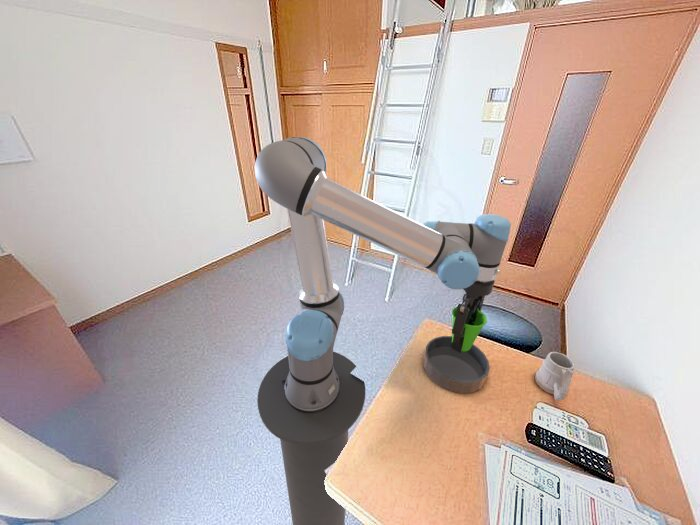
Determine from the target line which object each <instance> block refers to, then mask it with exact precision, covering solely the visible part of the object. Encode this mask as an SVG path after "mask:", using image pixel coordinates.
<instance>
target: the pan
mask: <svg viewBox="0 0 700 525" xmlns="http://www.w3.org/2000/svg"><path fill="white" fill-rule="evenodd" d="M451 345H452V335H442V336H437V337H434V338H433V339H431V340H429V341H428V343H427V344H426V346H425V349H424V354H423V363H422V364H423V368H424V371H425V372H426V374H427V376H428V377H429V378H430V379H431V380H432V381H433V382H434V383H435V384H436V385H438V386H439V387H441V388H443V389H445V390H446V391H449V392H451V393H456V394H473V393H476V392H478V391H479V390H481V389H482V387H483V386H485V384H486V380H487V377H488V374H489V371H490V368H491V367H490V362H489V360H488V358H487V356H486V354H485V353H484V351H482V350H481V349H480V347H478V346H477V345H475V343H473V345H472V347H471V348H470V350H468V351H465V352H463V351H461V352H460V353H459V352H457V351H455V350H454V349H452V348H451Z"/></svg>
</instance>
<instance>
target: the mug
mask: <svg viewBox="0 0 700 525" xmlns="http://www.w3.org/2000/svg"><path fill="white" fill-rule="evenodd" d="M575 368H576V363H575V362H574V360H573V359H572V358H571V357H569V356H568V355H566V354H564V353H563V352H562V353H561V352H557V351H550V352H549V353H548V354H547V355H546V358H544V359H543V360H542V363H541V366H540V368H539V369H538V370H536V372H535V377H534V380H535V384H536V385H537V386H538V387H539V388H540V389H541V390H542V391H544V392H545V393H548V394H550V395H553V398H554V401H555V402H560V401H563V400H564V399H565V398H566V396H567V395H568V391H569V388H570V385H571V382H572V378H573V376H574V374H575V371H574V370H575Z"/></svg>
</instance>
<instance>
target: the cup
mask: <svg viewBox="0 0 700 525" xmlns="http://www.w3.org/2000/svg"><path fill="white" fill-rule="evenodd" d="M457 307H458V306H456V307H454V308H453V309H452V311H451V316H452V328H451V330H452V329H453V326H454V322H455V318H456V314H457ZM470 318H471V317H470ZM472 319H473V318H472ZM473 323H474V324H475V325H474V326H472V325H467V324H465V327H466V328H465V335H464V341H463V346H462V350H461V351H463V352H465V351H468V350H470V348H471V347H472V345H473V344H475V341H476V340H477V337H479V334H480V332H481V331H482V329H483V327H484V326H485V325H486V324H487V323H488V318H487V316H486V315H485V313H484V312H482V310H481V311H479V310H478V314H477V317H476V320H475V322H473ZM451 336H452V341H453V337H454V334H452V333H451ZM462 337H463V336H462Z"/></svg>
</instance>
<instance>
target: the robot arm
mask: <svg viewBox="0 0 700 525" xmlns="http://www.w3.org/2000/svg"><path fill="white" fill-rule="evenodd" d="M326 172H327V157H326V155H325V153H324V151H323V149H322V148H321V147H320V145H319V144H318V143H317V142H315V141H314V140H312V139H310V138H309V137H308V138H307V137H302V136H292V137H287V138H284V139H282V140H276V141H274V142H270V143H269V144H267V145H265V146H264V147H263V148H262V149H261V150H260V151H259V153H258V154H257V157H256V159H255V162H254V175H255V180H256V182H257V184H258V186H259V188H260V190H261V191H262V192H263V193H264V194H265V195H266V196H267V197H268V198H269V199H270V200H272V201H273V202H275V203H276V204H277V205H279V206H281V207H283V208H285V209H286V212H287V217H288V221H289V226H290V231H291V237H292V241H293V246H294V251H295V256H296V261H297V266H298V271H299V276H300V281H301V285H302V288H301V289H300V290H299V292H298V298H299V299H298V300H299V304H300V310H301V311H300V313H299V314H296V315H294V316H293V317H292V318H291V319H290V321H289V322H288V324H287V327H286V331H285V332H286V333H285V344H286V349H287V356H288V360H289V369H290V371H289V374H288V377H287V378H285V379H283V380H282V383H283V382H285V381H286V383H285V396H286V399H287V401H288V403H289V404H290V405H291V406H292V407H293V408H294V409H296V410H298V411H300V412H304V413H316V412H320V411H322V410H324V409H326V408H328V407H329V406H330V405H332V404H333V403H334V401H335V400H336V398H337V396H338V394H339V378H338V375H337V373H336V371H335V369H334V367H333V352H334V348H335V343H336V339H337V336H338V331H339V327H340V324H341V321H342V316H343V315H344V311H345V300H344V299H345V298H344V296H343V294H342V292H341V290H340V288H339V285H338V284H337V283H335V282H334V281H333V276H332V269H331V262H330V255H329V249H328V248H329V247H328V242H327V233H326V227H325V222H327V223H329V224H331V225H333V226H335V227H338V228H340V229H341V230H344V231H346V232H348V233H351V234H353V235H355V236H356V237H359V238H361V239H363V240H365V241H367V242H369V243H372V244H374V245H376V246H378V247H379V248H382V249H385V250H386V251H389V252H390V253H392V254H394V255H397V256H399V257H401V258H403V259H405V260H408V261H410V262H412V263H413V264H416V265H418V266H421V267H422V268H424V269H426V270H429V271H431V272H432V273H435V274H437V277H438V279H439V280H440V282H441V283H442V284H443V285H444V286H445V287H446V288H448V289H451V290H463V291H464V294H463V296H462V302H461V303H458V305H457V306H456V307H457V314H456V318H455V322H454V326H453V325H452V326H453V329H452V328H451V335H452V334H454V337H453V341H452V345H451V348H452V349H454V350H455V351H457V352H459V353H460V352H461V350H462V346H463V341H464V335H465V328H466V327H465V324H467V325H472V326H474V325H475V324H474V323H473V322H475V320H476V317H477V314H478V310H479V311H481V312H482V308H483V305H484V301H485V297H486V296H489V295H491V294H492V292H493V288H494V286H495V282H496V280H495V279H496V278H497V274H500V273H501V270H500V269H499V268H500V265H501V261H502V258H503V255H504V252H505V250H506V246H507V243H508V241H509V237H510V232H511V226H512V223H511V221H510V220H509V219H508V218H506V217H504V216H502V215H500V214H499V215H498V214H492V213H485V214H484V213H483V214H479V215H478V216H477V217H476V220H475V221H474V223H466V222H465V223H464V222H454V221H453V222H451V221H441V220H437V221H436V220H434V221H433V220H429V221H428V220H427V221H424V223H423V224H422V223H420V222H418V221H416V220H415V219H412V218H409V217H408V216H406V215H404V214H402V213H400V212H397V211H395V210H394V209H391V208H389V207H387V206H385V205H384V204H381V203H379V202H377V201H375V200H372V199H371V198H369V197H366V196H364V195H362V194H361V193H359V192H357V191H354V190H352V189H351V188H348V187H346V186H344V185H342V184H340V183H338V182H335V181H334V180H332V179H330V178H328V176H327V175H326ZM470 317H471V318H470ZM472 318H473V319H472ZM462 336H463V337H462Z"/></svg>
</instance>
